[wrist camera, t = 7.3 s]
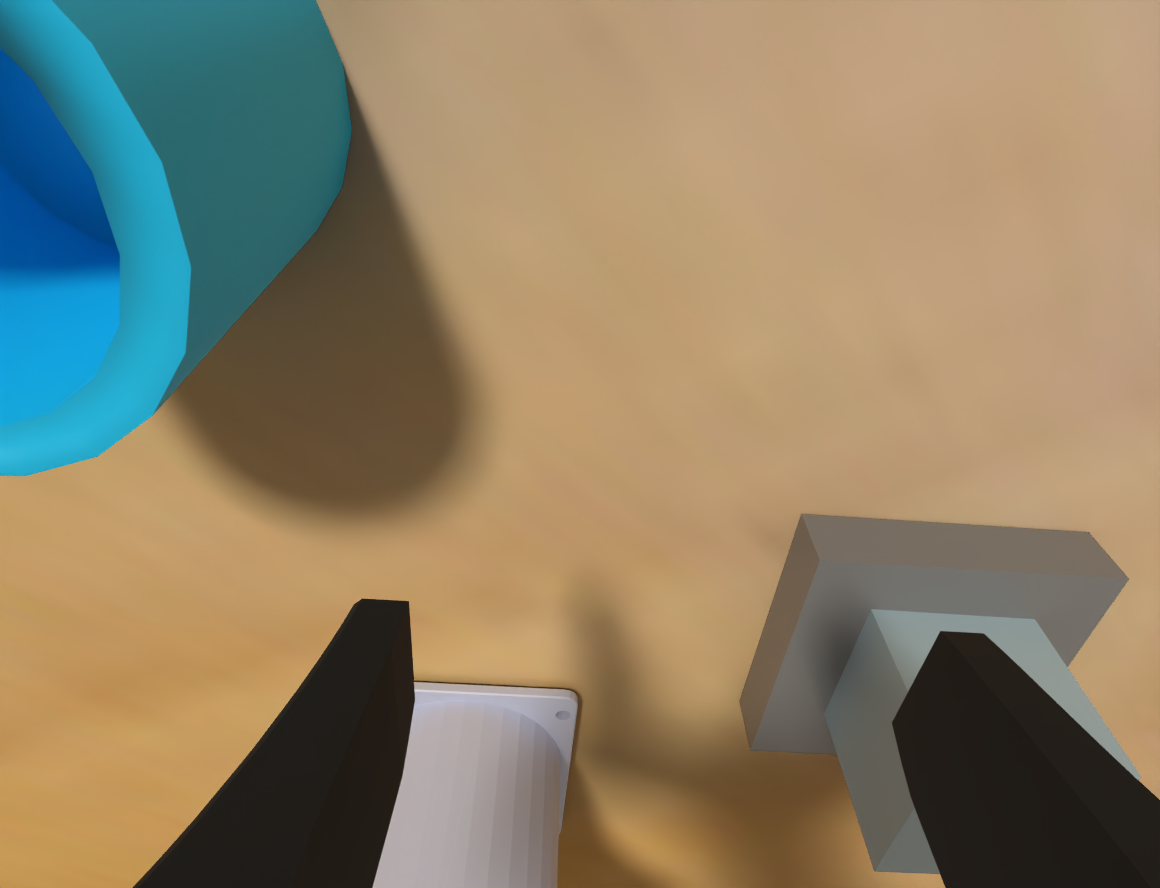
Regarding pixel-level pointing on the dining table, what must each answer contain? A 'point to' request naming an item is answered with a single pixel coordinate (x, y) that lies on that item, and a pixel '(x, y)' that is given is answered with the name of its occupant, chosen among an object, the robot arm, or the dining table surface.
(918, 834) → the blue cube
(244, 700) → the dining table surface
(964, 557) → the slate base
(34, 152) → the mug
